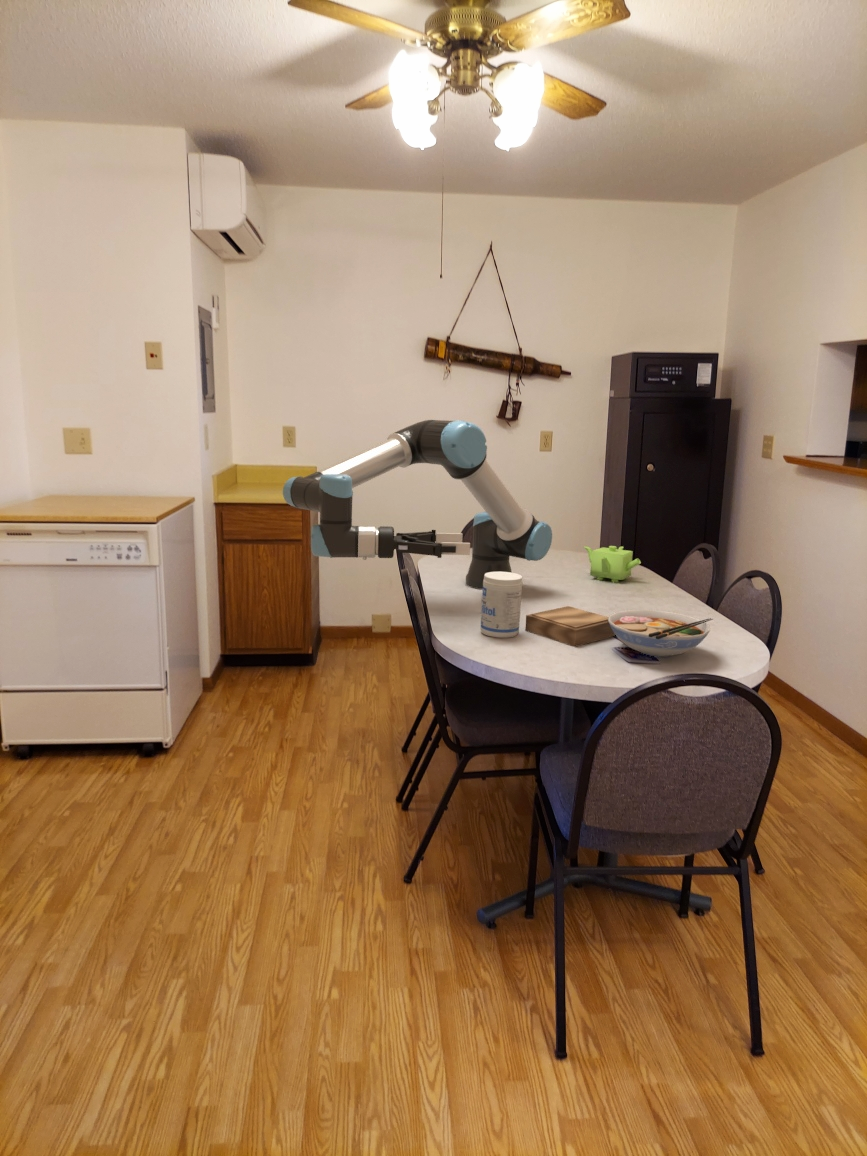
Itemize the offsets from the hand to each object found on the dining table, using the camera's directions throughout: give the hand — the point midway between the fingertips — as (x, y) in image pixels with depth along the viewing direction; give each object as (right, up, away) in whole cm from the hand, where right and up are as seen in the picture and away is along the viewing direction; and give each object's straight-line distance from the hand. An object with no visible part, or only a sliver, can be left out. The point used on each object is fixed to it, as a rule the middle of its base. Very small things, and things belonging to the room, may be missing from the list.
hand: (466, 543), depth 185 cm
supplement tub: (+9, -22, +6) cm, 24 cm away
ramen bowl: (+44, -26, -6) cm, 51 cm away
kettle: (+51, -9, +71) cm, 88 cm away
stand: (+27, -22, +8) cm, 35 cm away
